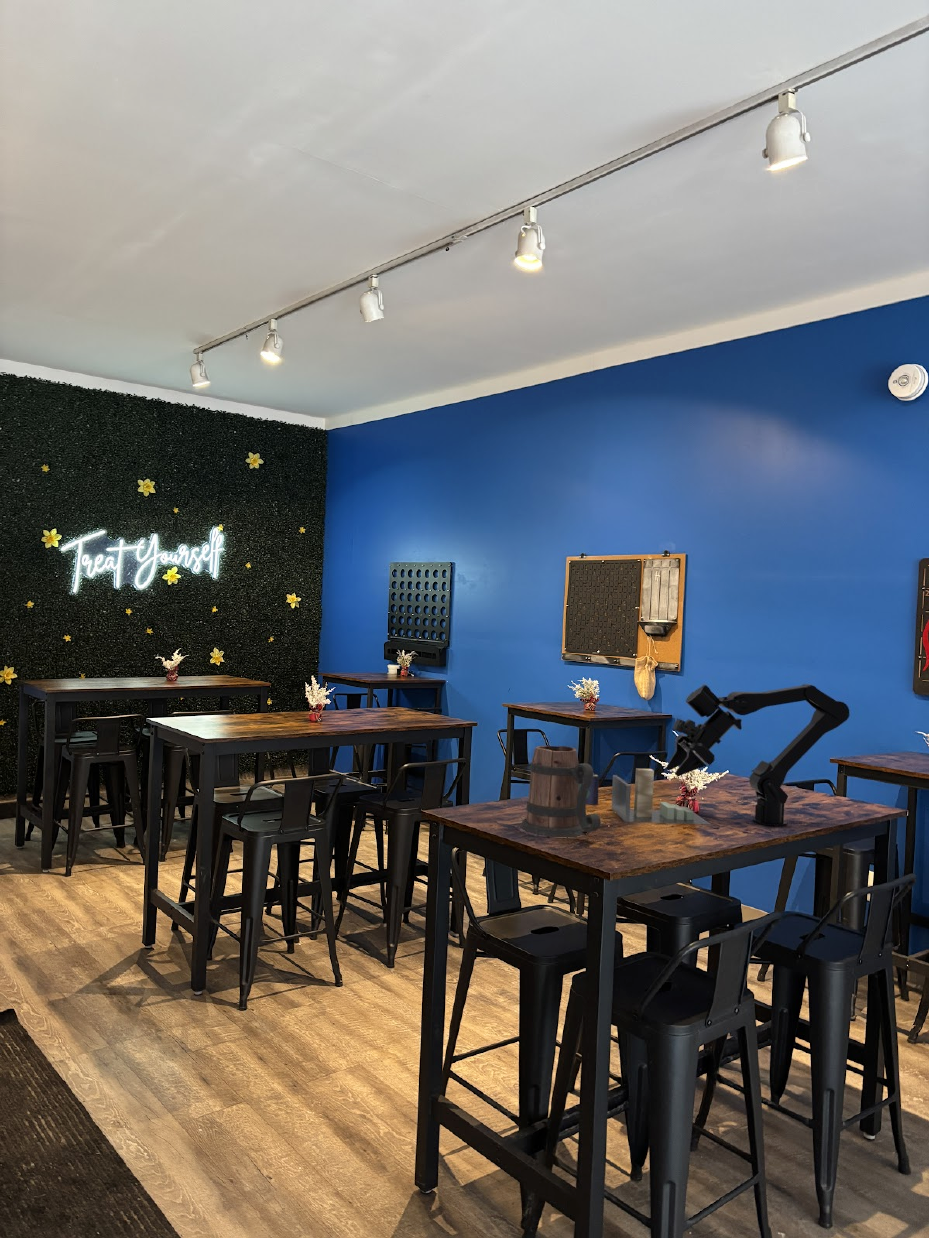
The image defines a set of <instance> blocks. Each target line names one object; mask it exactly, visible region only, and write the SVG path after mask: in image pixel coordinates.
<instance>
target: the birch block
mask: <svg viewBox="0 0 929 1238" xmlns="http://www.w3.org/2000/svg"><path fill="white" fill-rule="evenodd" d="M654 776H655V770H654V769H652V768H637V767H636V768H635V779H634V780H635V782H634V803H633V804H634V805H633V809H634V815H635V816H636V817H652V810H653V799H654V780H655V779H654V778H655V777H654Z"/></svg>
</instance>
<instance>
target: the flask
mask: <svg viewBox="0 0 929 1238" xmlns="http://www.w3.org/2000/svg"><path fill="white" fill-rule="evenodd" d="M583 770H584V769H583ZM584 776H585V772H584ZM584 776H583V780H584ZM599 780H600V778H599V775H598V774H595V773H594V772H593V780H592V783H591V785H590V787H589V789H588V792H587V796H586V805H588V806H598V804H599V787H600V786H599V785H600V784H599V783H600V782H599ZM581 785H582V783H581V784H579V789H580V787H581Z"/></svg>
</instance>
